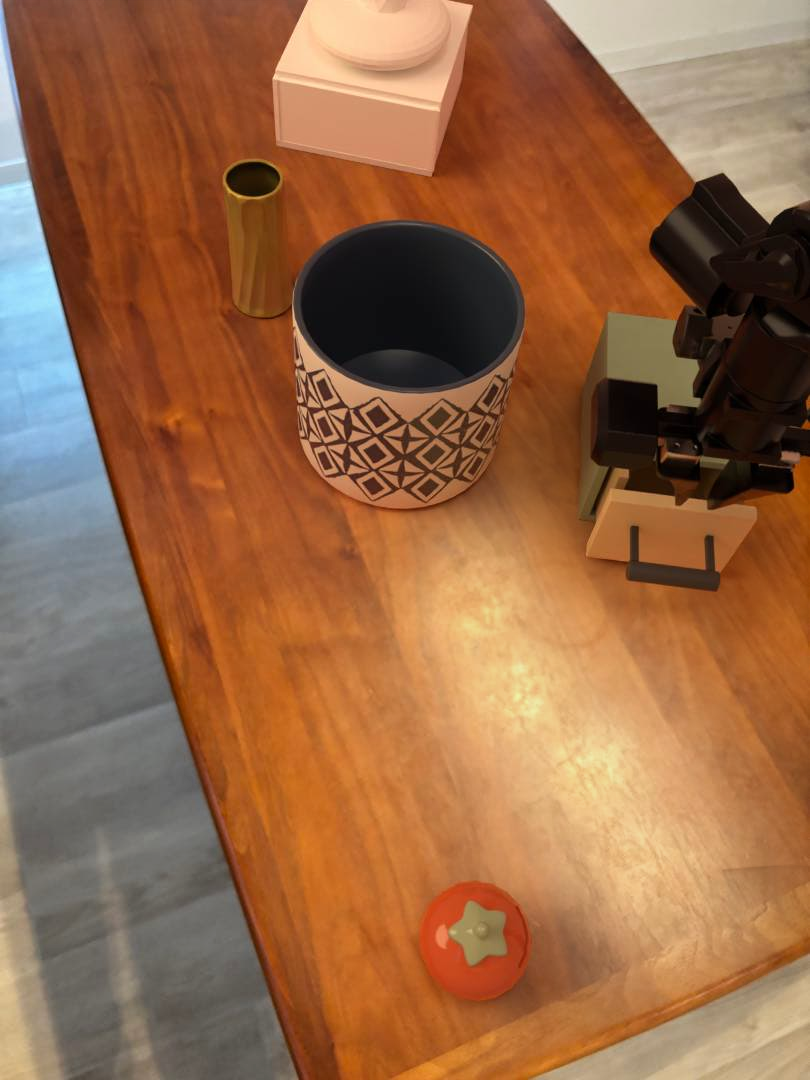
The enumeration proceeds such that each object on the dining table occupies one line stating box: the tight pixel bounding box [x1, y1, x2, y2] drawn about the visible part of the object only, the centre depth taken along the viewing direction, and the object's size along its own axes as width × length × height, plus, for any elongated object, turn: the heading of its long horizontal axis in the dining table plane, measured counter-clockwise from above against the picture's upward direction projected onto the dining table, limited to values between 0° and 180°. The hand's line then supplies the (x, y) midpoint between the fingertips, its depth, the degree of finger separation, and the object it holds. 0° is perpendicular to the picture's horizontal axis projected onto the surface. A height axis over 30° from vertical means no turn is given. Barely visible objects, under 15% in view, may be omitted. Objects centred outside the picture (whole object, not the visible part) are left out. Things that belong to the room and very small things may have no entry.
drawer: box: [585, 461, 758, 593], centre depth 83 cm, size 18×11×9 cm, turn 174°
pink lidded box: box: [271, 0, 474, 178], centre depth 107 cm, size 18×18×16 cm
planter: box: [291, 219, 527, 509], centre depth 85 cm, size 18×18×16 cm
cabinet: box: [577, 311, 746, 522], centre depth 87 cm, size 15×13×11 cm
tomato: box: [418, 880, 532, 1002], centre depth 66 cm, size 7×7×8 cm
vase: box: [222, 158, 295, 319], centre depth 93 cm, size 6×6×14 cm
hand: (693, 502), depth 75 cm, fingers closed
